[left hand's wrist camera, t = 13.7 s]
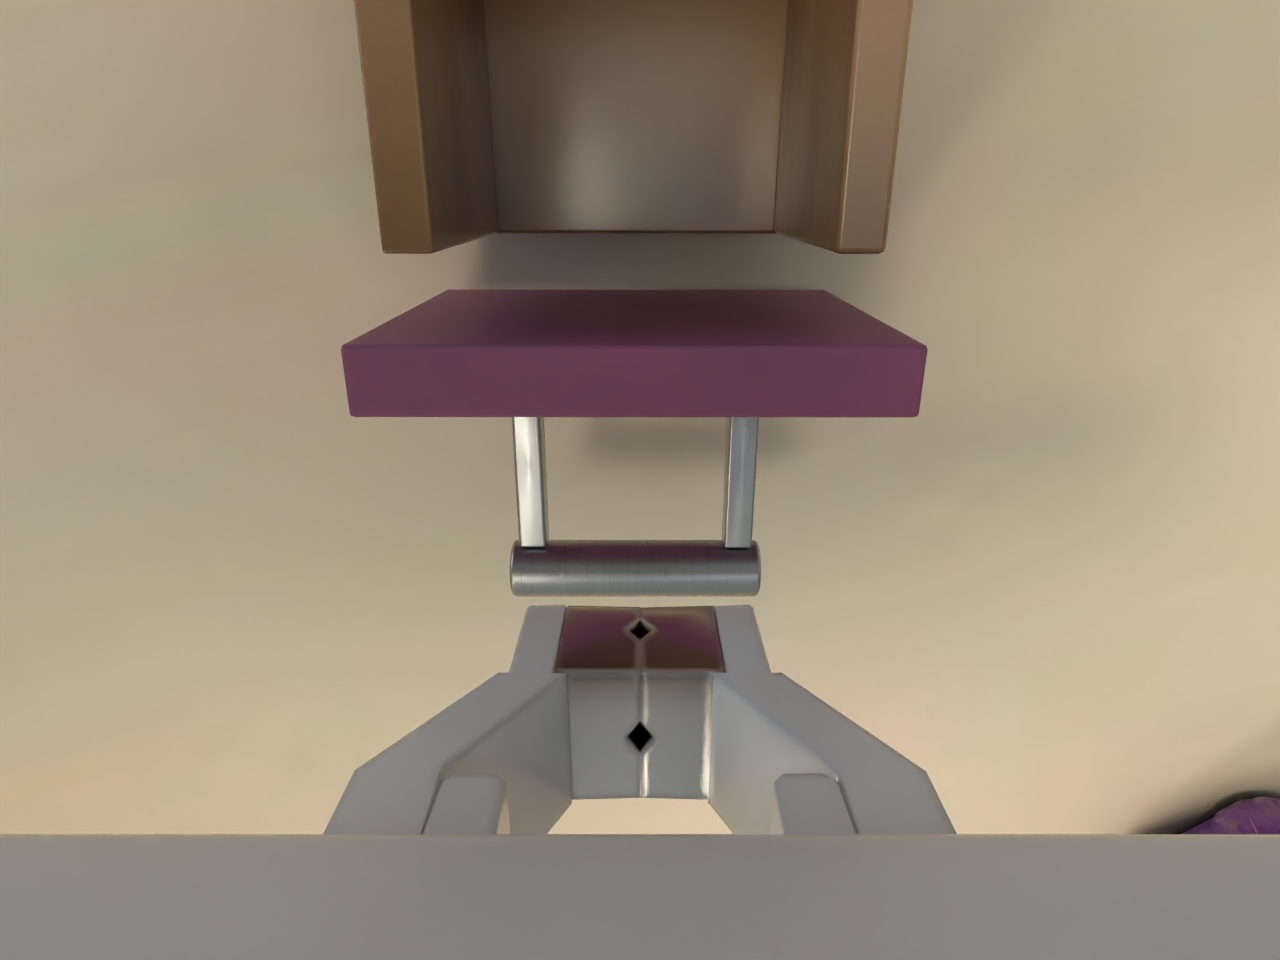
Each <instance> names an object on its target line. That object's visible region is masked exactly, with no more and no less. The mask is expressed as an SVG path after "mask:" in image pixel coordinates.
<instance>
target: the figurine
mask: <svg viewBox="0 0 1280 960" xmlns="http://www.w3.org/2000/svg"><path fill="white" fill-rule="evenodd" d="M1182 834H1280V799H1278V798H1273V797H1266V796H1261V797H1256V798H1253V799H1241V800H1239V801H1237V802H1235V803H1234V804H1232V805H1230V806H1228V807H1226V808H1224V809H1222V810H1220V811H1218V812H1217V813H1216V814H1215V816H1214V817H1213V818H1211V819H1210V820H1208V821H1206V822H1204V823H1202V824H1200V825H1198V826H1196V827H1194V828H1192V829H1190V830H1188V831H1186V832H1184V833H1182Z"/></svg>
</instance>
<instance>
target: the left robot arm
mask: <svg viewBox="0 0 1280 960" xmlns="http://www.w3.org/2000/svg"><path fill="white" fill-rule="evenodd" d="M607 798H672V799H708V803H709V804H710V805H711V807H712V808H713V809H714V810H715V811H716V813H717V814H718V815H719V816H720V818H721V819H722V820H723V821H724V823H725V824H726V825H727V826H728V828H729V829H730V830H731V831H732V833H733V834H547V833H548V832H549V831H550V829H551V828H552V827H553V826H554V825H555V823H556V822H557V821H558V820H559V818H560V817H561V816H562V815H563V813H564V812H565V811H566V810H567V808H568V807H569V806H570V805H571V804H572V799H607ZM0 960H1280V834H956V831H955V829H954V827H953V825H952V823H951V821H950V819H949V817H948V815H947V813H946V811H945V809H944V807H943V805H942V803H941V801H940V799H939V797H938V795H937V793H936V791H935V789H934V787H933V785H932V783H931V781H930V779H929V777H928V775H927V773H926V771H925V770H923V769H922V768H920V767H919V766H917V765H916V764H914V763H913V762H911V761H910V760H908V759H907V758H906V757H904V756H903V755H901V754H900V753H898V752H897V751H895V750H894V749H892V748H891V747H889V746H888V745H886V744H885V743H884V742H882V741H881V740H879V739H878V738H876V737H875V736H873V735H872V734H870V733H869V732H867V731H866V730H865V729H863V728H862V727H860V726H859V725H857V724H856V723H854V722H853V721H851V720H850V719H848V718H847V717H845V716H844V715H843V714H841V713H840V712H838V711H837V710H835V709H834V708H832V707H831V706H829V705H828V704H826V703H825V702H824V701H822V700H821V699H819V698H818V697H816V696H815V695H813V694H812V693H810V692H809V691H807V690H806V689H804V688H803V687H802V686H800V685H799V684H797V683H796V682H794V681H793V680H791V679H790V678H788V677H787V676H785V675H784V674H782V673H771V671H770V667H769V664H768V660H767V657H766V653H765V650H764V646H763V642H762V639H761V635H760V632H759V628H758V624H757V621H756V617H755V614H754V610H753V607H751V606H750V605H735V606H690V607H649V608H640V607H603V606H567V607H566V606H565V605H546V606H530V607H528V609H527V610H526V613H525V616H524V620H523V624H522V627H521V631H520V635H519V638H518V642H517V645H516V649H515V653H514V656H513V660H512V664H511V667H510V671H509V673H498V674H496V675H495V676H493V677H492V678H490V679H489V680H487V681H486V682H484V683H483V684H481V685H480V686H478V687H477V688H475V689H474V690H473V691H471V692H470V693H468V694H467V695H465V696H464V697H462V698H461V699H459V700H458V701H456V702H455V703H453V704H452V705H450V706H449V707H448V708H446V709H445V710H443V711H442V712H440V713H439V714H437V715H436V716H434V717H433V718H431V719H430V720H428V721H427V722H425V723H424V724H422V725H421V726H420V727H418V728H417V729H415V730H414V731H412V732H411V733H409V734H408V735H406V736H405V737H403V738H402V739H400V740H399V741H397V742H396V743H395V744H393V745H392V746H390V747H389V748H387V749H386V750H384V751H383V752H381V753H380V754H378V755H377V756H375V757H374V758H372V759H371V760H369V761H368V762H367V763H365V764H364V765H362V766H361V767H359V768H358V769H356V770H355V771H354V773H353V775H352V777H351V779H350V781H349V783H348V785H347V787H346V789H345V791H344V793H343V795H342V797H341V799H340V801H339V803H338V805H337V807H336V809H335V811H334V813H333V815H332V817H331V819H330V821H329V823H328V825H327V827H326V829H325V831H324V833H323V834H0Z"/></svg>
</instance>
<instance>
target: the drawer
mask: <svg viewBox="0 0 1280 960" xmlns="http://www.w3.org/2000/svg"><path fill="white" fill-rule="evenodd" d="M912 3H913V0H354V6H355V15H356V24H357V32H358V41H359V50H360V59H361V68H362V76H363V85H364V94H365V103H366V111H367V120H368V129H369V138H370V147H371V155H372V164H373V173H374V182H375V190H376V199H377V208H378V217H379V225H380V234H381V243H382V250H383V252H384V253H434V252H437V251H440V250H443V249H447V248H450V247H453V246H456V245H460V244H463V243H466V242H469V241H473V240H476V239H479V238H482V237H486V236H489V235H492V234H495V233H774V234H780V235H783V236H786V237H789V238H793V239H796V240H799V241H802V242H805V243H808V244H811V245H814V246H817V247H821V248H824V249H827V250H830V251H833V252H836V253H839V254H879V253H882V252H883V251H884V249H885V247H886V239H887V230H888V221H889V212H890V203H891V194H892V184H893V175H894V166H895V157H896V148H897V139H898V130H899V121H900V112H901V103H902V94H903V85H904V76H905V67H906V58H907V49H908V40H909V31H910V22H911V12H912ZM341 352H342V359H343V367H344V374H345V381H346V388H347V396H348V403H349V410H350V414H351V416H354V417H512V428H513V445H514V461H515V478H516V494H517V511H518V527H519V540H517V541H515V542H514V544H513V546H512V550H511V557H510V584H511V590H512V593H513V595H515V596H756V595H758V592H759V589H760V583H761V558H760V550H759V546H758V544H757V542H756V541H754V540H752V528H753V511H754V494H755V477H756V460H757V443H758V426H759V417H915V416H917V415H918V413H919V407H920V400H921V392H922V385H923V378H924V370H925V363H926V355H927V347H926V346H925V345H923V344H921V343H920V342H918V341H916V340H914V339H912V338H910V337H909V336H907V335H905V334H903V333H901V332H899V331H898V330H896V329H894V328H892V327H890V326H889V325H887V324H885V323H883V322H881V321H879V320H878V319H876V318H874V317H872V316H870V315H868V314H867V313H865V312H863V311H861V310H859V309H857V308H856V307H854V306H852V305H850V304H848V303H846V302H845V301H843V300H841V299H839V298H837V297H835V296H834V295H832V294H830V293H828V292H826V291H824V290H447V291H445V292H443V293H441V294H439V295H437V296H435V297H433V298H432V299H430V300H428V301H426V302H424V303H422V304H420V305H418V306H416V307H414V308H413V309H411V310H409V311H407V312H405V313H403V314H401V315H399V316H397V317H395V318H394V319H392V320H390V321H388V322H386V323H384V324H382V325H380V326H378V327H377V328H375V329H373V330H371V331H369V332H367V333H365V334H363V335H361V336H359V337H358V338H356V339H354V340H352V341H350V342H348V343H346V344H344V345H342V348H341ZM544 417H727V429H726V452H725V476H724V499H723V522H722V539H723V540H548V538H549V523H548V501H547V479H546V457H545V435H544Z"/></svg>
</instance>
